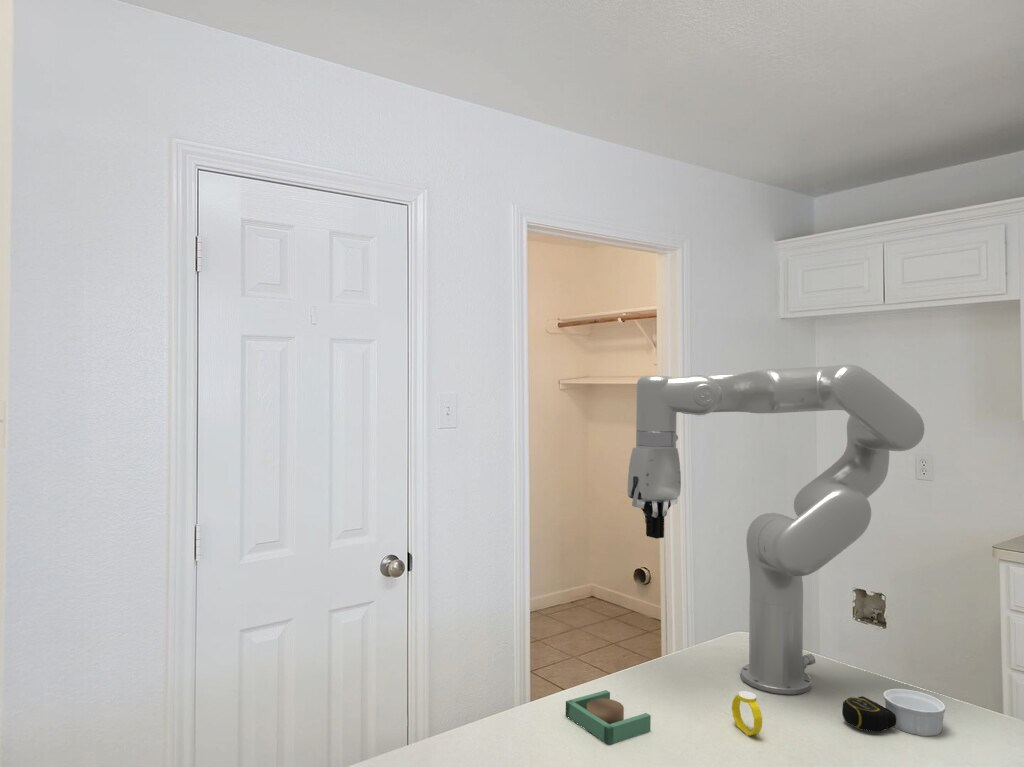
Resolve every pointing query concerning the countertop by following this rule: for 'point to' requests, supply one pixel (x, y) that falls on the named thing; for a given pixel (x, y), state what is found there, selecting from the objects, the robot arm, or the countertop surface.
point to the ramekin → (915, 711)
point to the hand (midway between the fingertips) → (654, 536)
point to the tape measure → (867, 714)
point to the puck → (606, 710)
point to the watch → (751, 700)
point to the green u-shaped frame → (600, 728)
